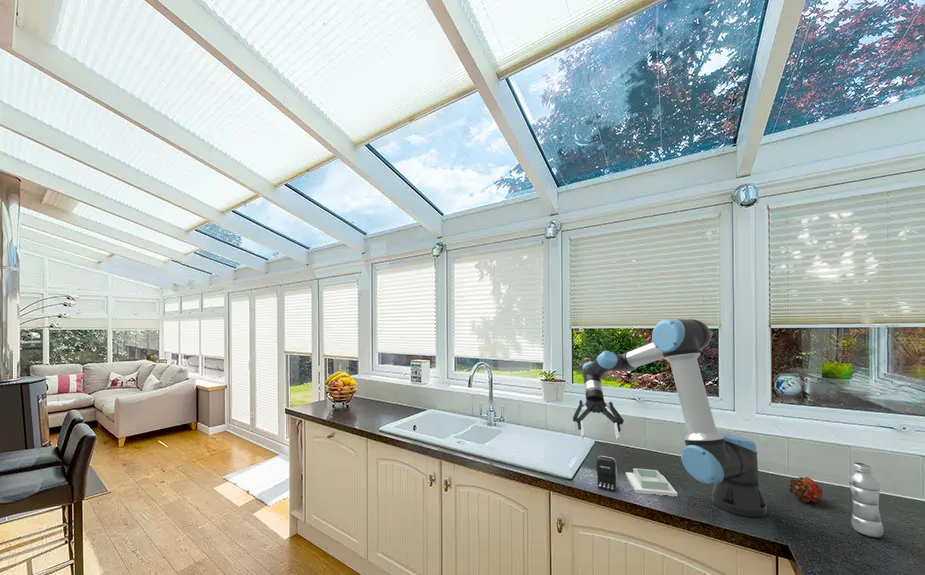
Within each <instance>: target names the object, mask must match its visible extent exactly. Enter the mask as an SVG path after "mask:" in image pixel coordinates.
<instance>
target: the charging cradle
mask: <svg viewBox="0 0 925 575" xmlns="http://www.w3.org/2000/svg"><path fill="white" fill-rule="evenodd" d="M632 471H633V472H627V471H626V472H625V477H626V476H627V477H626V478H627V480H628V482H629V484H630V485H631V487H632V489H633V491H634V492H635V493H636V494H641V493H642V495H652V494H656V496H663V495H668V496H667V497H675V496H676V498H677V497H678V496H679V494H678V492H677V491H676V490H675V488H674V487H673V485H671V483H670V482H669V481H668V480H667V478H666V477H665V476H664V475H663V474H661V473H660V472H659V470H658V469H648V468H636V467H635V468H632Z"/></svg>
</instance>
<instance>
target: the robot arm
mask: <svg viewBox="0 0 925 575" xmlns="http://www.w3.org/2000/svg"><path fill="white" fill-rule="evenodd" d="M651 334H652V335H651V337H652V338H651V340H652V341H651V342H650V343H647V344H645V345H642V346H640V347H637V348H634V349H632V350H630V351H628V352H624V353H622V354H620V353H619V354H615V352H612V351H609V350H604V351H602V352H601V353H600V354H598V356H597V357H596V358H595V359H594V360H593V361H591V360H590V361H586V362H584V363H583V364H582V377H583V383H584V384H583V385H584V394H585V401H583V400H581V399H580V400H579V403H578V407H577V408H576V410H575V412H574V415H573V417H572V421H573V422H576V424H577V429H578V430H579V431H580V435H581V439H584V437H585V431H584V422H583V420H584V419H585V418H586V417H587V416H588V415H589V414H591V412H592V413H597V414H602V415H604V416H606V418H607V419H608V420H610V421H611V422H612V423H613V424H614V425H613V427H614V433H615V439H616V441H617V442H619V440H620V434H619V433H621V425H623V424H624V419H623V417H622V416H621V415H620V413H619V412H618V411H617V409H616V408H615V407H614V404H613V402H612V401H609V402H605V399H604V390H603V386H602V385H603V384H602V378H603V377H604V376H606V374H608V373H613V372H614V373H615V372H625V371H627V372H631V371H635V370H637V369H638V367H641V366H645V365H647V364H650V363H654V362H656V361H659V360H662V359H664V360H665V361H667V362H669V364H670V365H669V366H670V368H671V372H672V377H673V379H674V384H675V388H676V391H677V395H678V400H679V404H680V408H681V413H682V415H683V420H684V423H685V427H686V432H687V433H686V435H685V436H684V438H683V439H684V442H685V443H684V444H685V447H683V449H682V451H681V454H680V457H681V458H680V459H681V463H682V465H683V468H684V469H685V471H686V472H687V474H689V475H691V476H692V478H693V479H695V480H696V481H698V482H700V483H703V484H714V485H713V488H712V491H711V501H712V503H713V504H714V505H716V506H717V507H719V508H720V509H722V510H724V511H727V512H728V513H732V514H734V515H739V516H743V517H747V518H748V517H749V518H762V517H765V516H766V515H767V514H768V506H767V503H766V500H765V498H764V497H763V494H762V491H761V489H760V487H759V486H760V482H759V468H758V466H759V464H758V451H757V445H756V443H755V441H753V440H751V439H750V438H746V437H743V436H739V435H733V434H730V433H724V432H723V433H721V432H720V433H719V432H718V430H717V427H716V424H715V420H714V417H713V413H712V409H711V406H710V401H709V398H708V395H707V392H706V391H707V390H706V387H705V384H704V380H703V377H702V374H701V369H700V366H699V362H698V358H699V357H700V355H701V352H700V351H701V350H704V349H705V348H706V347H708V345H709V344H710V342H711V339H712V333H711V330H710V328H709V326H708V325H707V324H706V323H704V322H703V321H700V320H698V319H695V318H694V319H693V318H691V319H686V318H685V319H683V318H682V319H680V318H671V319H669V318H668V319H663V320H660V321H659V322H658V323H657V324H656V325H655V327H654V328H653V330H652V333H651ZM583 407H586V409H584V411H583V412H582V410H583V409H582V408H583ZM606 407H607V408H606ZM608 409H609V411H608ZM581 412H582V413H581ZM580 413H581V414H580Z"/></svg>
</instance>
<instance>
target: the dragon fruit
mask: <svg viewBox="0 0 925 575" xmlns="http://www.w3.org/2000/svg"><path fill="white" fill-rule="evenodd" d="M789 487H790V488H788V490H789V492H790V493H792V494H793V495H794V496H795V497H797V498H798V499H799V500H800V501H802V502H804V503H805V502H806V504H808V503H810V502H812V503H813V504H815V503H817V504H820V502H821V499H820V498H822V497H823V490H822V488H821V487H820V485H818V484H817V483H816V482H815V481H814V480H813V479H811V478H809V476H808V477H807V476H805V477H802V476H799V477H797V478H795V479H790V481H789Z"/></svg>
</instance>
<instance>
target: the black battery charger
mask: <svg viewBox="0 0 925 575" xmlns="http://www.w3.org/2000/svg"><path fill="white" fill-rule="evenodd" d="M595 461H596V463H595V464H596V465H595V467H596V468H595V470H596V473H597V474H596V476H597V488H599V489H601V490H604V491H609V492H615V491H617V485H618V484H617V478H618V476H617V472H618V471H617V460H616V459H615V458H613V457H610V456H605V455H599V456H597V458H596V460H595Z"/></svg>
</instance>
